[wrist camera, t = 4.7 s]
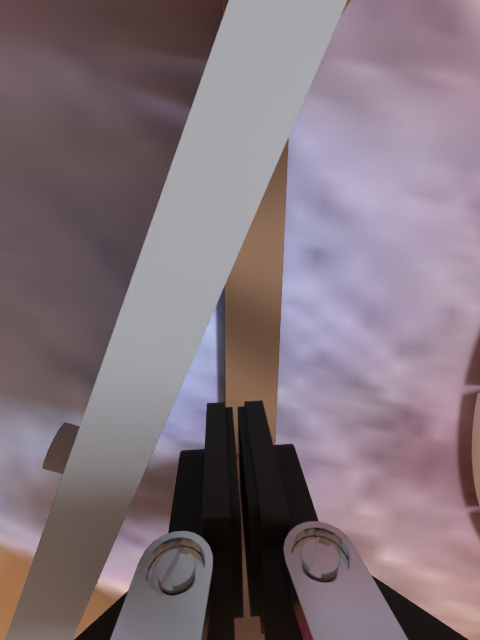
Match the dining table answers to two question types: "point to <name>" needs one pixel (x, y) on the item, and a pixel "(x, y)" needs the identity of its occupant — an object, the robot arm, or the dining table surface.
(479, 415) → the lazy susan
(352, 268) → the dining table surface
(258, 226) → the doorframe
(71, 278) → the dining table surface
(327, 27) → the door
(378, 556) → the dining table surface
